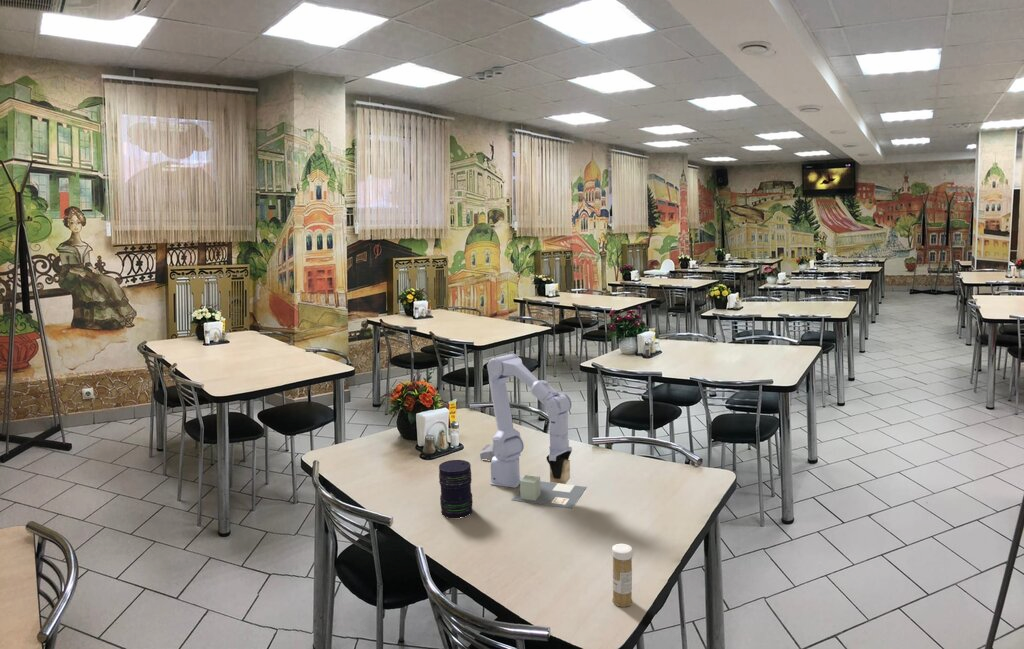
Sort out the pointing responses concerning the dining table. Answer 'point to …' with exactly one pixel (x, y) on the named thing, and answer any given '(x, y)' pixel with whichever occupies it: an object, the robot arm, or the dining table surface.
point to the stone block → (487, 452)
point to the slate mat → (556, 495)
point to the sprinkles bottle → (622, 575)
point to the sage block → (530, 487)
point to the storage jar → (455, 488)
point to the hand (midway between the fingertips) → (559, 474)
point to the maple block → (564, 475)
